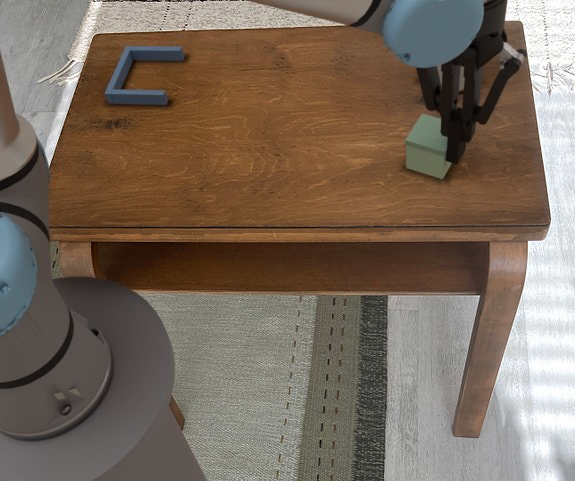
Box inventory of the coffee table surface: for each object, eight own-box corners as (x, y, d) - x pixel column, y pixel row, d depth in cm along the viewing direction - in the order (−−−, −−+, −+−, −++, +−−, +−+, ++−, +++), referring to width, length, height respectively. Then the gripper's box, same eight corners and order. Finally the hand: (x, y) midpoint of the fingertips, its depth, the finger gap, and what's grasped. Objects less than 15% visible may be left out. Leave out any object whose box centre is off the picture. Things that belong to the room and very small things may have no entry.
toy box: (404, 168, 96) (404, 140, 92) (420, 142, 98) (422, 113, 94) (443, 180, 94) (445, 152, 90) (458, 153, 96) (461, 124, 92)
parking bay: (184, 57, 115) (181, 46, 114) (166, 105, 109) (163, 94, 107) (129, 56, 117) (125, 45, 115) (108, 104, 110) (104, 93, 109)
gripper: (547, -23, 73) (517, 150, 92) (423, -47, 78) (418, 122, 97) (522, 21, 69) (496, 192, 88) (393, -7, 75) (394, 160, 93)
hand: (455, 155), depth 92 cm, fingers closed
